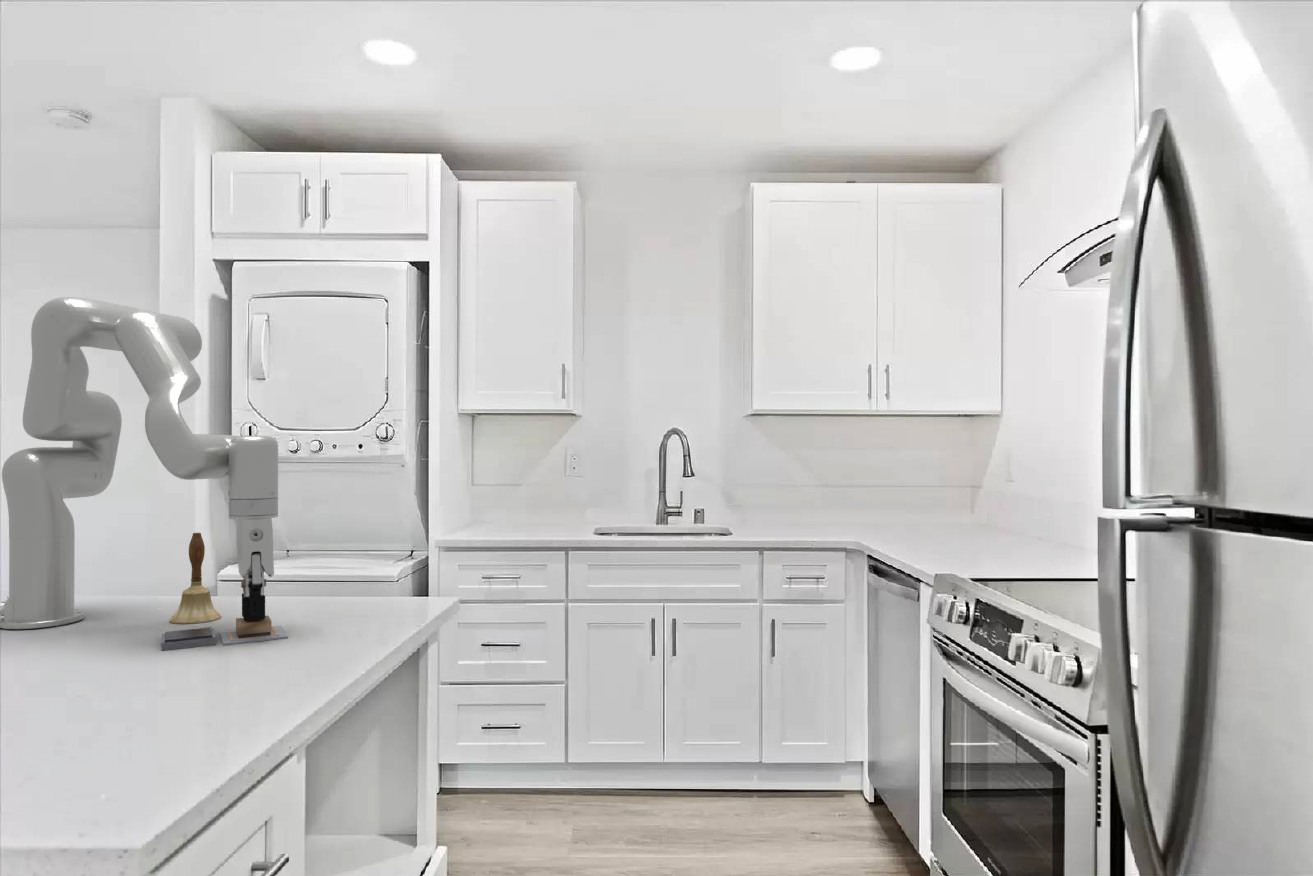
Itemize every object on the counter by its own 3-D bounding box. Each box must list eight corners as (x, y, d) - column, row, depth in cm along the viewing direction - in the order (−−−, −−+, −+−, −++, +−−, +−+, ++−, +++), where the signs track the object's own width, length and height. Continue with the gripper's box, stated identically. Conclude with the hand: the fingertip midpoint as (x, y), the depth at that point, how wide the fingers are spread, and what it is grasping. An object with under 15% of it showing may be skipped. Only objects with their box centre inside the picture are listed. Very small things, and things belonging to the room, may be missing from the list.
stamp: (237, 638, 135) (238, 583, 135) (235, 632, 140) (236, 579, 140) (271, 635, 138) (271, 581, 138) (268, 629, 142) (268, 577, 142)
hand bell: (230, 615, 155) (231, 530, 156) (202, 625, 147) (202, 535, 147) (189, 614, 156) (189, 530, 156) (158, 624, 148) (159, 535, 148)
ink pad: (161, 650, 129) (161, 641, 129) (161, 640, 135) (161, 631, 135) (215, 644, 132) (215, 635, 132) (213, 635, 139) (213, 626, 139)
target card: (223, 645, 132) (223, 642, 132) (220, 633, 140) (220, 631, 140) (287, 638, 137) (287, 635, 137) (280, 627, 145) (280, 624, 145)
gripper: (283, 511, 134) (283, 625, 134) (272, 505, 148) (272, 607, 148) (231, 513, 130) (231, 630, 130) (225, 506, 144) (225, 612, 144)
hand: (253, 617), depth 139 cm, fingers closed on stamp, 3 cm apart
